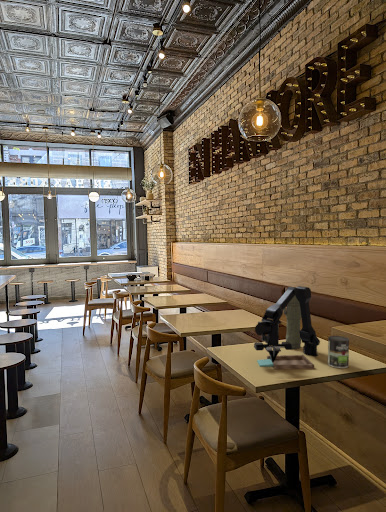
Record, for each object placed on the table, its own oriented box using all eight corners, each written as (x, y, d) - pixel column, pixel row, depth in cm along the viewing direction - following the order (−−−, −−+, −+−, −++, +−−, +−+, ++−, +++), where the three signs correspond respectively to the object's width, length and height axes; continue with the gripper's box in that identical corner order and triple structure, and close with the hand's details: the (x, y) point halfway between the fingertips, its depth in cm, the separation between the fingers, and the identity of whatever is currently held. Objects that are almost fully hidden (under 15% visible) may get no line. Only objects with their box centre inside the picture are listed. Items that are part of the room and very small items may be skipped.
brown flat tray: (303, 359, 205) (303, 354, 205) (314, 369, 189) (314, 365, 189) (266, 360, 204) (267, 355, 204) (274, 370, 188) (274, 365, 188)
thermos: (305, 348, 224) (306, 290, 223) (287, 349, 223) (287, 290, 221) (299, 344, 233) (299, 288, 231) (281, 345, 231) (281, 288, 229)
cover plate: (270, 361, 200) (270, 358, 200) (273, 366, 192) (273, 364, 192) (257, 362, 200) (257, 360, 200) (259, 367, 192) (259, 365, 192)
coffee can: (352, 367, 191) (353, 340, 191) (334, 369, 190) (334, 341, 189) (341, 361, 201) (342, 335, 201) (323, 362, 200) (324, 336, 199)
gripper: (286, 328, 203) (285, 357, 204) (251, 329, 202) (251, 357, 203) (292, 333, 192) (292, 363, 193) (256, 334, 191) (256, 364, 192)
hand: (272, 362), depth 196 cm, fingers closed
